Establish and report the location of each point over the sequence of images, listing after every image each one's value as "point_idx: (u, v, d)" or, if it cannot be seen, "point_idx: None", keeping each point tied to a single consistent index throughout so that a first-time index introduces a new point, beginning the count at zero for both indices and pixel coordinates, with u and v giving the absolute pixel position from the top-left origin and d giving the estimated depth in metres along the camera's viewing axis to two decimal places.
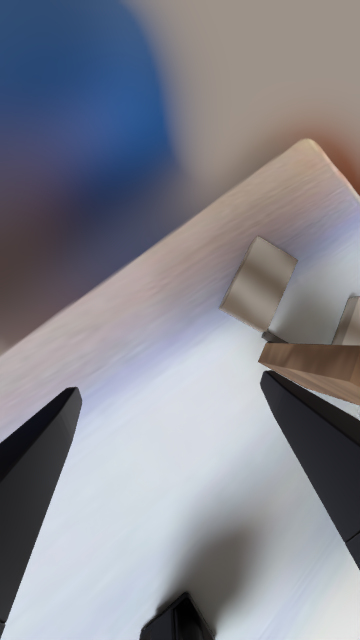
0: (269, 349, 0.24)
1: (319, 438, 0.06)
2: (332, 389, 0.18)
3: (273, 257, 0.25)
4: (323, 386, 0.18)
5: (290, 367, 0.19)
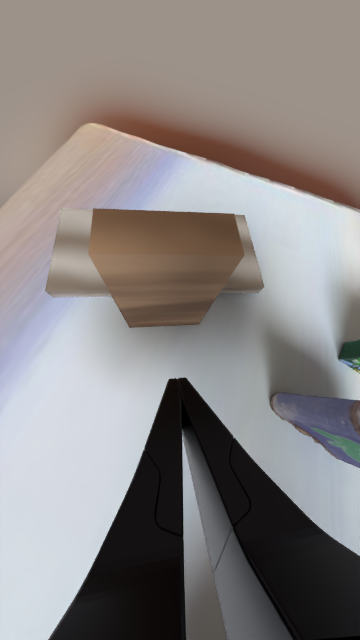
0: None
1: (196, 456, 0.06)
2: (168, 297, 0.13)
3: (88, 219, 0.22)
4: (166, 301, 0.14)
5: None
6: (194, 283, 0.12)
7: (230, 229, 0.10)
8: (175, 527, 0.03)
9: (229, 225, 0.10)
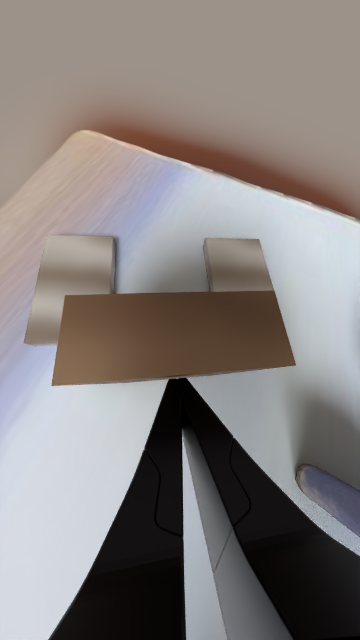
0: None
1: (196, 456, 0.06)
2: (175, 377, 0.10)
3: (78, 248, 0.19)
4: None
5: None
6: None
7: (271, 319, 0.07)
8: (175, 527, 0.03)
9: (269, 311, 0.07)
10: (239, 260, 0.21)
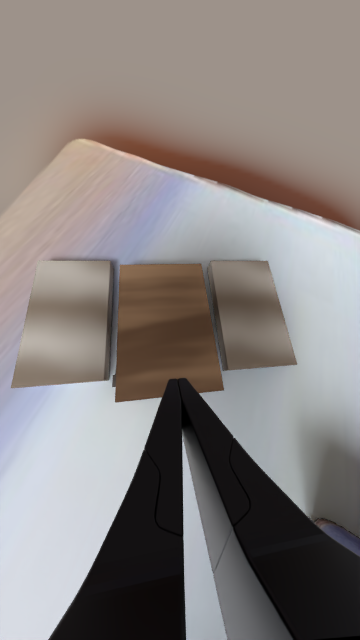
0: None
1: (196, 456, 0.06)
2: (166, 307, 0.15)
3: (72, 275, 0.17)
4: (164, 315, 0.15)
5: (118, 322, 0.15)
6: (182, 287, 0.16)
7: None
8: (175, 527, 0.03)
9: None
10: (246, 285, 0.19)
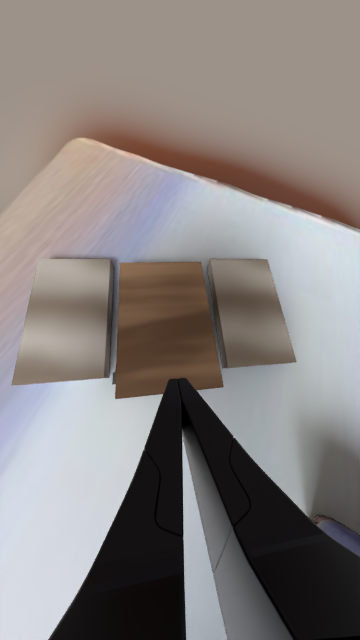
0: None
1: (196, 456, 0.06)
2: (166, 304, 0.15)
3: (73, 273, 0.17)
4: (164, 313, 0.15)
5: (118, 320, 0.15)
6: (182, 285, 0.16)
7: None
8: (175, 527, 0.03)
9: None
10: (246, 284, 0.19)
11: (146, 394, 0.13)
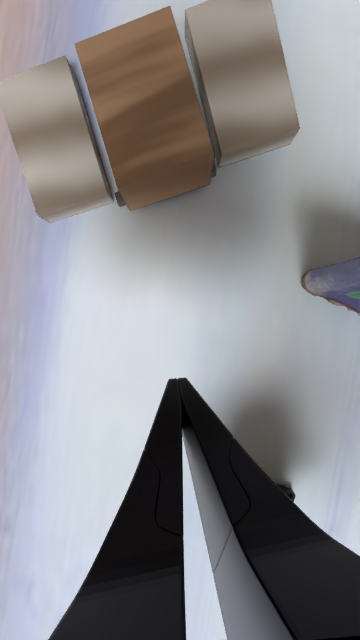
0: None
1: (196, 456, 0.06)
2: (140, 82, 0.14)
3: (35, 89, 0.16)
4: (140, 93, 0.14)
5: None
6: (153, 50, 0.14)
7: None
8: (175, 527, 0.03)
9: None
10: (237, 35, 0.15)
11: (143, 178, 0.14)
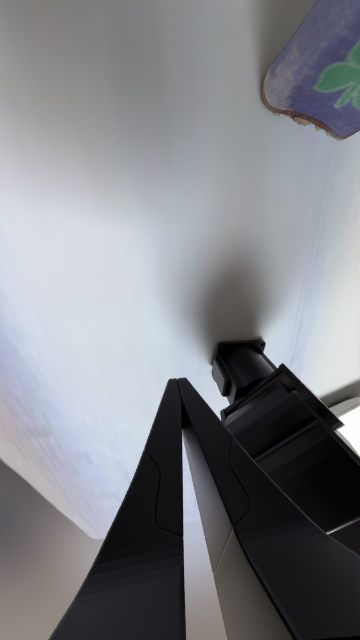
0: None
1: (196, 456, 0.06)
2: None
3: None
4: None
5: None
6: None
7: None
8: (175, 527, 0.03)
9: None
10: None
11: None
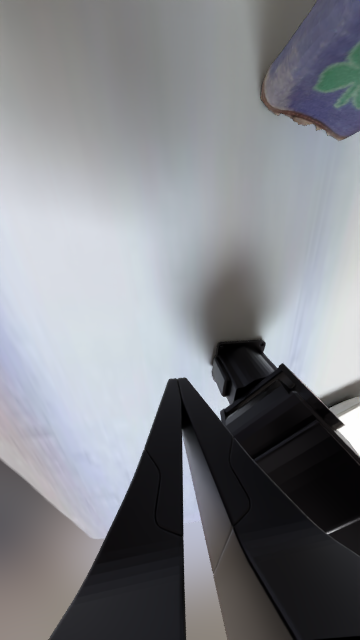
0: None
1: (196, 456, 0.06)
2: None
3: None
4: None
5: None
6: None
7: None
8: (175, 527, 0.03)
9: None
10: None
11: None
